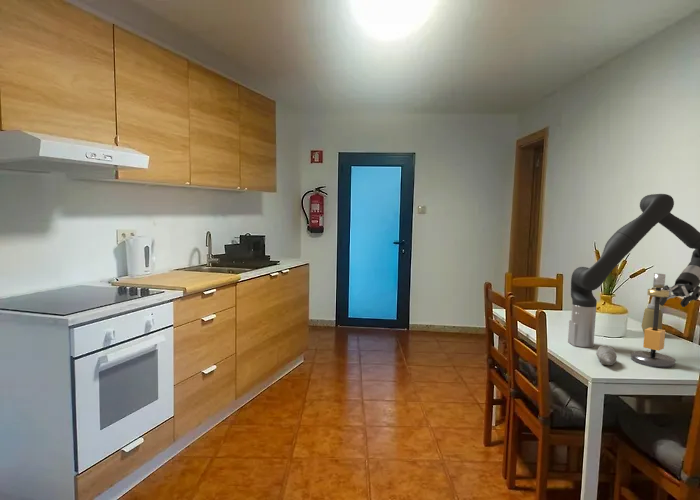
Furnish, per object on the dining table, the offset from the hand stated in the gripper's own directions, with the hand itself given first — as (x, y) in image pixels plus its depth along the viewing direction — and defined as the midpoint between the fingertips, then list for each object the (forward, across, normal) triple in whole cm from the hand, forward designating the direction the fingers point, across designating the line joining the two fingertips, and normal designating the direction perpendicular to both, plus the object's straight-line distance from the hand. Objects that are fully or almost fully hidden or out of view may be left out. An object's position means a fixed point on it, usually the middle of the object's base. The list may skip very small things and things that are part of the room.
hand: (671, 304), depth 185 cm
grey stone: (+40, -3, -6) cm, 40 cm away
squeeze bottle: (-6, -24, +26) cm, 36 cm away
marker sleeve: (+22, +3, +2) cm, 22 cm away
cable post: (+25, +2, +6) cm, 26 cm away
